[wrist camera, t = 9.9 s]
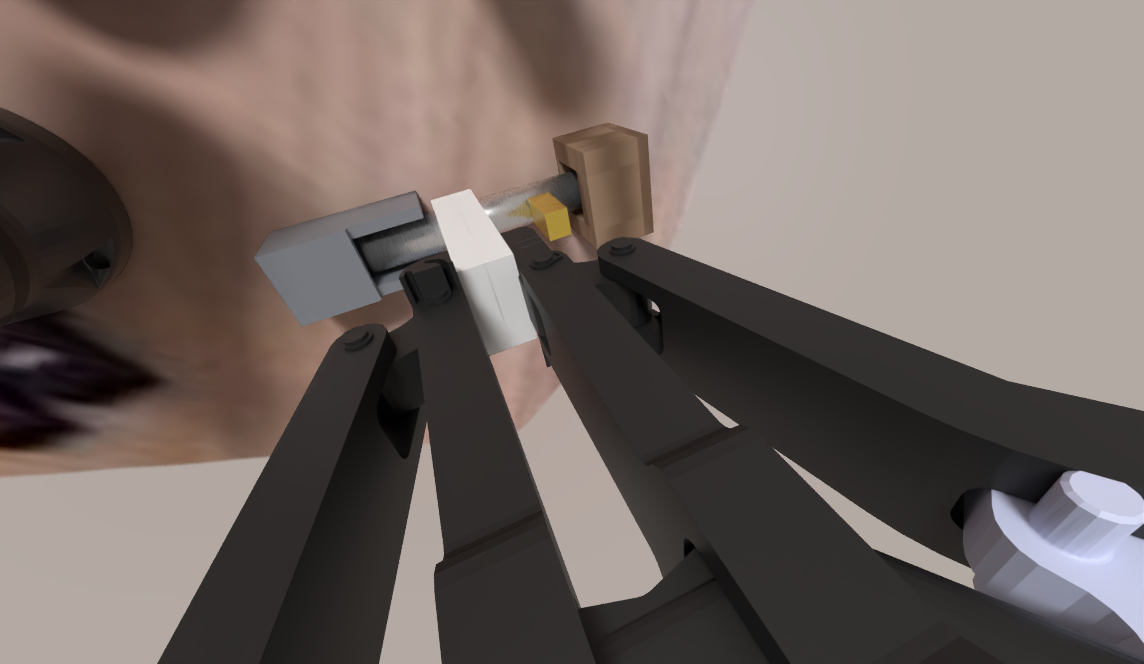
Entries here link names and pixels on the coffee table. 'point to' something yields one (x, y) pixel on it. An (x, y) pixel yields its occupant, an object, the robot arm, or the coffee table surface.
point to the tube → (505, 209)
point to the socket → (608, 182)
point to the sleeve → (334, 259)
